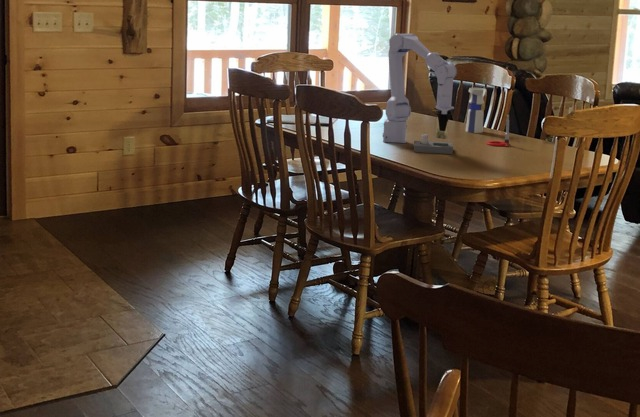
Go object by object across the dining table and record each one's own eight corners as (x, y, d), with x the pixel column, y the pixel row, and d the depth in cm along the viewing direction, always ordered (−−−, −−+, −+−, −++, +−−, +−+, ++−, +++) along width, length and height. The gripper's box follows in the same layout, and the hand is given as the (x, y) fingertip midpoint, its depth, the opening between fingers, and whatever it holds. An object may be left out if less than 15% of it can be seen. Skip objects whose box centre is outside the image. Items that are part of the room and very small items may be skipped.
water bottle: (486, 131, 394) (491, 76, 387) (479, 133, 387) (484, 77, 380) (469, 129, 398) (474, 74, 391) (462, 131, 391) (466, 75, 384)
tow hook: (485, 146, 359) (507, 147, 357) (486, 115, 356) (509, 116, 354) (487, 143, 367) (509, 144, 364) (488, 112, 364) (510, 113, 361)
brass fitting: (435, 138, 340) (437, 115, 338) (435, 136, 345) (437, 113, 342) (447, 138, 340) (448, 116, 337) (447, 137, 344) (448, 114, 342)
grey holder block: (414, 151, 339) (415, 136, 338) (413, 146, 350) (414, 132, 348) (452, 154, 338) (453, 138, 336) (451, 148, 348) (452, 134, 347)
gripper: (456, 98, 331) (453, 133, 334) (453, 93, 345) (451, 127, 348) (437, 97, 331) (434, 132, 335) (436, 92, 345) (433, 126, 349)
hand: (442, 129), depth 341 cm, fingers closed on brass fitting, 4 cm apart
